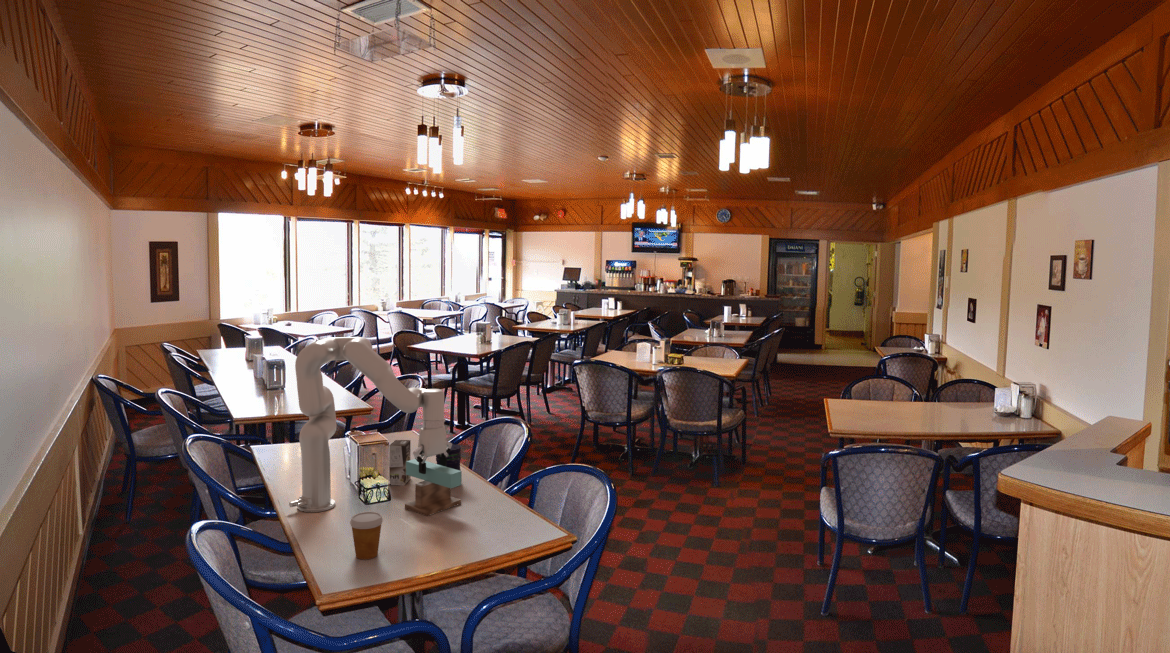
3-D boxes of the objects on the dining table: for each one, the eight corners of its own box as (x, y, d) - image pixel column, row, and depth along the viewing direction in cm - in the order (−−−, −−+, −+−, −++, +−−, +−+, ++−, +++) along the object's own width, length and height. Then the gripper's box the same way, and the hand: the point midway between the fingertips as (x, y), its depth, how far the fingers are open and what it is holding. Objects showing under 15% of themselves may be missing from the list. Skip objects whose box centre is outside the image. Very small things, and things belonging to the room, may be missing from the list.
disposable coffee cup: (386, 548, 216) (386, 511, 215) (378, 562, 206) (378, 522, 205) (355, 548, 215) (355, 510, 214) (345, 562, 206) (345, 522, 205)
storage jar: (430, 485, 276) (430, 448, 275) (443, 478, 286) (443, 442, 284) (453, 488, 273) (453, 451, 272) (465, 481, 282) (465, 445, 281)
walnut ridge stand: (427, 516, 244) (427, 488, 243) (404, 508, 251) (404, 481, 250) (461, 503, 257) (461, 477, 256) (438, 496, 264) (438, 471, 263)
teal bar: (406, 474, 258) (406, 461, 257) (416, 471, 262) (416, 458, 261) (450, 488, 244) (450, 474, 243) (461, 484, 248) (461, 471, 247)
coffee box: (405, 485, 275) (404, 445, 274) (388, 485, 276) (388, 445, 274) (411, 478, 285) (411, 439, 283) (395, 478, 285) (395, 439, 283)
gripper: (444, 418, 260) (443, 463, 262) (407, 426, 246) (406, 473, 248) (458, 421, 256) (457, 467, 257) (421, 429, 242) (421, 478, 243)
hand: (432, 470), depth 252 cm, fingers open, 9 cm apart
